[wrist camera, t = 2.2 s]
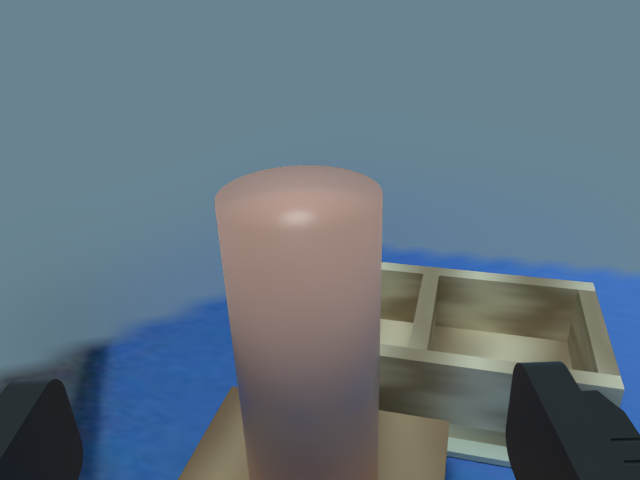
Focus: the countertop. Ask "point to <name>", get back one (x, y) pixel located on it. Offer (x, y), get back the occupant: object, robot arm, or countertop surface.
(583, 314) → the caddy
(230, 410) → the board
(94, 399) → the countertop surface
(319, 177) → the pink cylinder
